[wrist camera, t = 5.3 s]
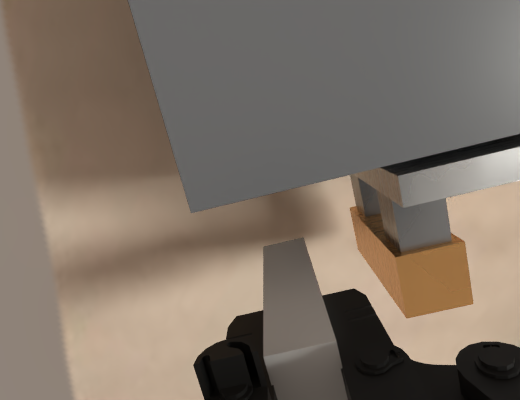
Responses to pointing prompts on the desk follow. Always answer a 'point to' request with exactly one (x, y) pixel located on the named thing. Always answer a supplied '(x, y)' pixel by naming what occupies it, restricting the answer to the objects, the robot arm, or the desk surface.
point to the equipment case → (324, 86)
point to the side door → (425, 221)
